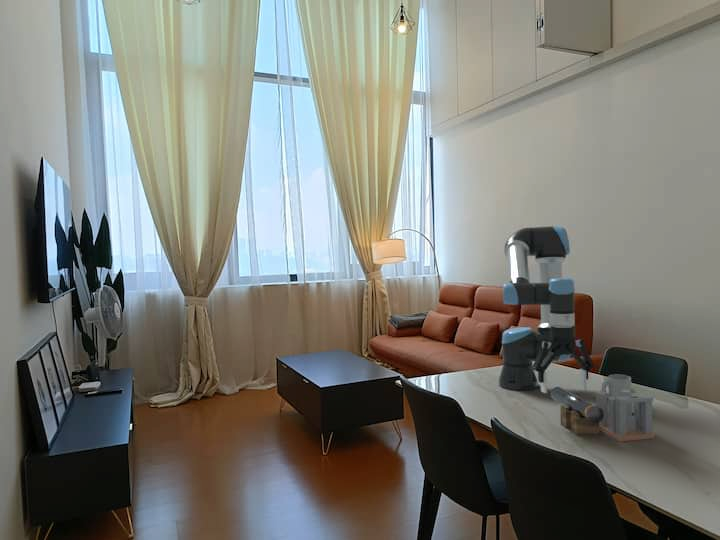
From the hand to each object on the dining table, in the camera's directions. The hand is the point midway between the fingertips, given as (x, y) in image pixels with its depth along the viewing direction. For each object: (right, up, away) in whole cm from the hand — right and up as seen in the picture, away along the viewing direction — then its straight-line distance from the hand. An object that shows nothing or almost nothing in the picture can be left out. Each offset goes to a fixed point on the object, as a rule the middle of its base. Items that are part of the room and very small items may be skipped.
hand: (563, 390), depth 163 cm
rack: (+2, -10, -8) cm, 13 cm away
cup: (+26, -8, +17) cm, 32 cm away
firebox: (+13, -9, -9) cm, 18 cm away
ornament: (+24, -9, +4) cm, 26 cm away
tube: (+1, -5, -6) cm, 8 cm away
